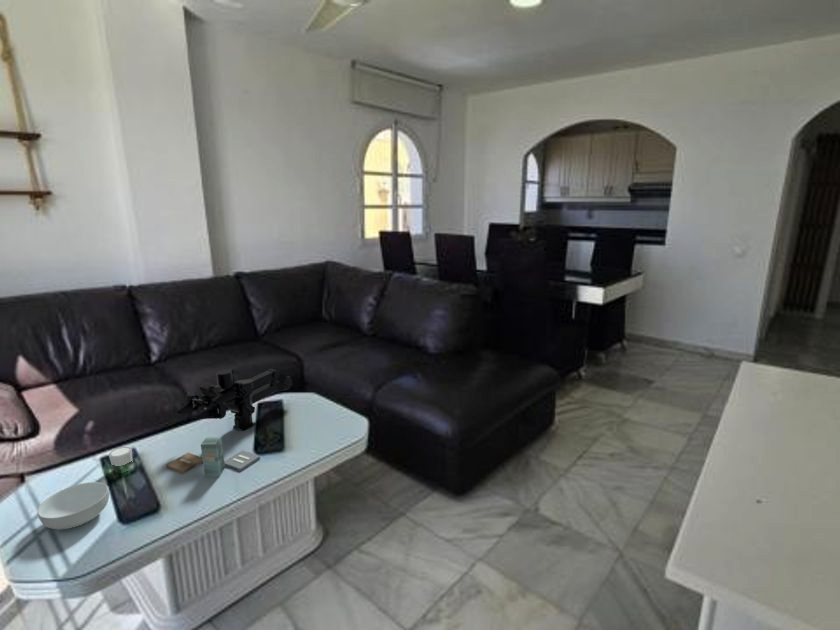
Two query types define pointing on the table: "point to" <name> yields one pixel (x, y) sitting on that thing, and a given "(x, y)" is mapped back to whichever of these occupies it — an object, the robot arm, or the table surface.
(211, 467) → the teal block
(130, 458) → the white cylinder
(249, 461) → the slate tile
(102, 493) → the cereal bowl
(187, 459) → the walnut tile
